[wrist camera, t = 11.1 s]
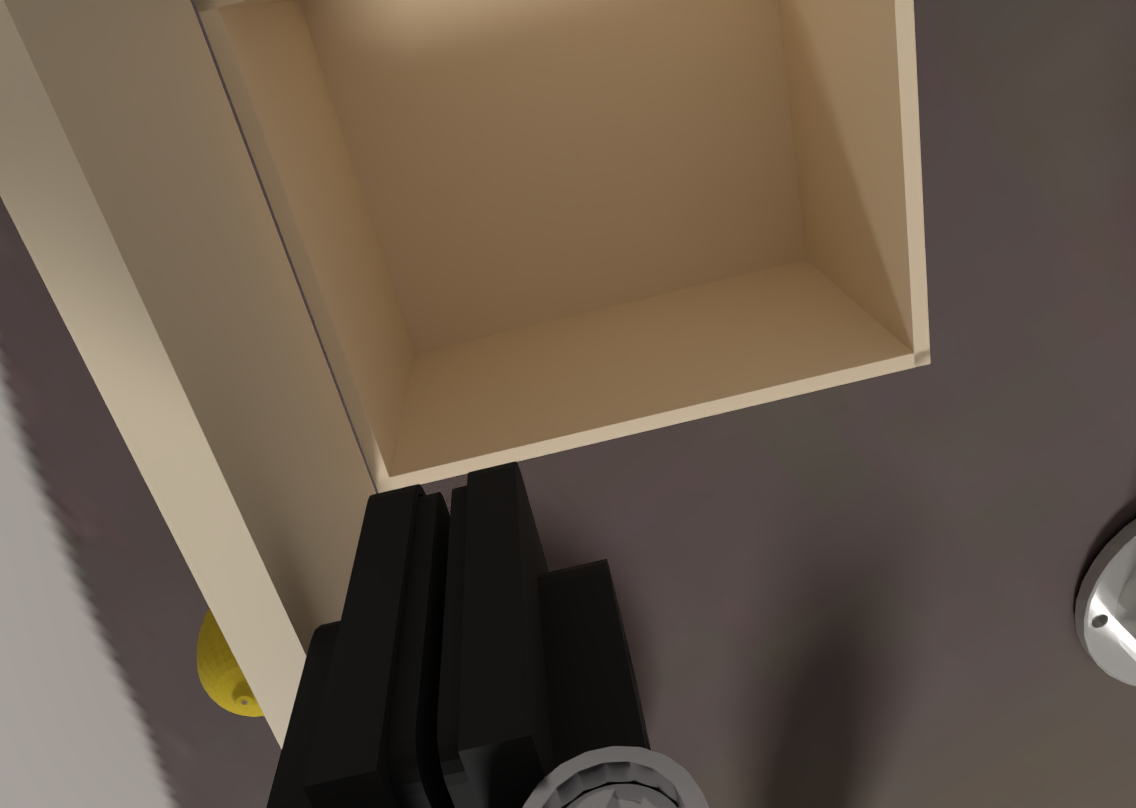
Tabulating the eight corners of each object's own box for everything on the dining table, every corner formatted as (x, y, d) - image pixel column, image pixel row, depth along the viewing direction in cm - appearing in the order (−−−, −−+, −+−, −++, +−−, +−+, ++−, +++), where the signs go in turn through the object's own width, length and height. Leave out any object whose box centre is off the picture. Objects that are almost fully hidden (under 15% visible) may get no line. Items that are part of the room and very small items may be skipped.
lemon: (367, 578, 43) (343, 698, 36) (295, 646, 44) (257, 774, 37) (275, 512, 41) (229, 625, 34) (202, 585, 42) (143, 708, 35)
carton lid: (-60, -138, 6) (-158, -117, 6) (510, 1097, 12) (468, 1117, 12) (186, -10, 22) (161, -4, 22) (377, 499, 28) (359, 505, 28)
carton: (774, -135, 31) (904, -190, 22) (815, 264, 38) (930, 363, 28) (283, -11, 32) (190, -10, 22) (407, 362, 38) (379, 494, 28)
